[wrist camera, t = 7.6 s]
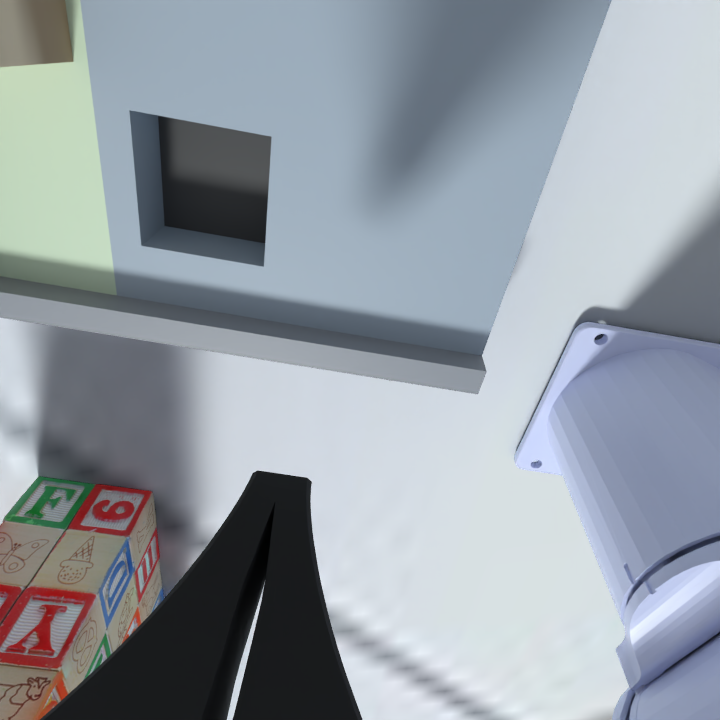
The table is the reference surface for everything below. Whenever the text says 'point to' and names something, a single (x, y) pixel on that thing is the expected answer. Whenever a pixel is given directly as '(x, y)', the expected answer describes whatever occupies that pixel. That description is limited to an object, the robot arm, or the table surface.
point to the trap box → (288, 174)
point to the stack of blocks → (71, 587)
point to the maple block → (34, 32)
